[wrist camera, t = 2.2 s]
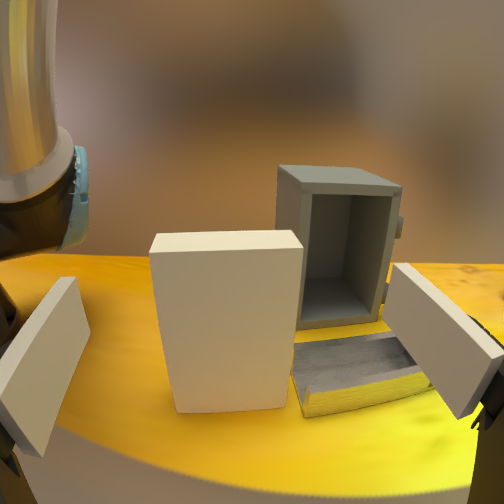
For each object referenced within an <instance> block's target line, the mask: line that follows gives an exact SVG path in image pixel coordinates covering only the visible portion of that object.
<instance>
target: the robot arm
mask: <svg viewBox="0 0 504 504" xmlns="http://www.w3.org/2000/svg"><path fill="white" fill-rule="evenodd" d="M57 5H58V0H0V262H1V261H6V260H10V259H15V258H20V257H25V256H30V255H35V254H40V253H45V252H50V251H60V250H62V249H63V248H65V247H69V246H73V245H77V244H79V243H81V242H82V241H83V240H84V239H85V237H86V235H87V232H88V225H89V224H88V223H89V198H88V189H89V180H88V179H89V178H88V161H87V154H86V150H85V149H84V148H83V147H79V146H75V145H73V141H72V138H71V136H70V135H69V133H68V132H67V131H66V130H64V129H63V128H62V127H60V126H58V123H57V110H56V92H55V35H56V33H55V32H56V17H57ZM382 319H383V320H384V321H385V323H386V324H387V325H388V326H389V328H390V329H391V330H392V332H393V333H394V334H395V335H396V337H397V338H398V339H399V341H400V342H401V343H402V345H403V346H404V347H405V348H406V350H407V351H408V352H409V354H410V355H411V356H412V358H413V359H414V360H415V362H416V363H417V364H418V366H419V367H420V368H421V370H422V371H423V373H424V374H425V375H426V377H427V378H428V379H429V381H430V382H431V383H432V385H433V386H434V388H435V389H436V390H437V392H438V393H439V395H440V396H441V397H442V399H443V400H444V402H445V403H446V404H447V406H448V407H449V409H450V410H451V412H452V413H453V414H454V416H455V417H456V419H457V420H459V419H461V418H463V417H465V416H468V415H470V414H472V413H473V411H474V410H475V408H476V407H477V405H478V403H479V402H481V403H482V404H483V406H484V407H483V409H482V410H481V412H480V413H479V415H478V416H477V418H476V419H475V421H474V422H473V424H472V426H471V429H473V428H474V427H475V426H476V424H477V423H478V422H479V427H478V428H477V430H479V432H478V442H477V450H476V458H475V465H474V471H473V477H472V483H471V488H470V493H469V498H468V502H467V504H504V346H503V345H502V344H501V343H500V342H499V341H498V340H497V339H496V338H495V337H494V336H493V335H490V332H489V331H488V330H486V329H484V327H483V326H482V325H481V324H480V323H479V322H478V321H477V320H476V319H474V318H472V317H471V316H469V315H467V314H465V313H464V312H463V311H462V310H461V309H460V308H459V307H458V306H457V305H456V304H455V303H453V302H452V301H451V300H450V299H449V298H448V297H447V296H446V295H444V294H443V293H442V292H441V291H440V290H439V289H438V288H436V287H435V286H434V285H433V284H432V283H431V282H430V281H428V280H427V279H426V278H425V277H424V276H423V275H421V274H420V273H419V272H418V271H417V270H415V269H414V268H413V267H412V266H411V265H409V264H408V263H398V264H393V269H392V273H391V278H390V283H389V287H388V292H387V296H386V301H385V305H384V309H383V313H382ZM90 334H91V331H90V328H89V325H88V321H87V318H86V314H85V310H84V307H83V303H82V299H81V295H80V291H79V287H78V283H77V279H76V277H60V278H59V279H58V280H57V282H56V283H55V284H54V285H53V287H52V288H51V289H50V291H49V292H48V293H47V294H46V296H45V297H44V298H43V300H42V301H41V302H40V304H39V305H38V306H37V308H36V309H35V310H34V312H33V313H32V314H31V316H30V317H29V318H28V320H27V321H26V323H25V324H24V325H23V321H22V318H21V316H20V313H19V310H18V308H17V306H16V304H15V303H14V302H13V300H12V299H11V297H10V296H9V295H8V293H7V292H6V290H5V289H4V287H3V286H2V284H1V283H0V504H37V501H36V499H35V497H34V495H33V493H32V491H31V489H30V487H29V485H28V483H27V480H26V478H25V476H24V474H23V471H22V469H21V467H20V464H19V461H18V459H17V457H16V455H15V454H14V452H13V451H12V449H13V447H14V444H15V443H16V444H17V446H18V447H19V448H20V449H21V451H22V452H23V453H24V454H28V455H32V456H36V457H40V458H43V456H44V453H45V450H46V447H47V444H48V441H49V438H50V435H51V432H52V429H53V426H54V423H55V420H56V418H57V415H58V412H59V409H60V407H61V404H62V401H63V399H64V396H65V394H66V391H67V388H68V386H69V383H70V381H71V378H72V376H73V374H74V371H75V369H76V366H77V364H78V362H79V359H80V357H81V355H82V352H83V350H84V348H85V345H86V343H87V341H88V339H89V336H90Z"/></svg>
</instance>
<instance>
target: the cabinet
mask: <svg viewBox="0 0 504 504" xmlns="http://www.w3.org/2000/svg"><path fill="white" fill-rule="evenodd" d="M401 194H402V186H399V185H397V184H395V183H393V182H390V181H388V180H386V179H383V178H381V177H378V176H376V175H374V174H371V173H369V172H366V171H364V170H361V169H358V168H345V167H327V166H302V165H278V173H277V198H276V220H275V230H292V232H293V233H294V235H295V236H296V237H297V239H298V240H299V242H300V243H301V245H302V246H303V248H304V250H303V261H302V271H301V282H300V292H299V301H298V310H297V319H296V328H295V330H304V329H315V328H325V327H334V326H343V325H352V324H360V323H368V322H376V321H377V317H378V313H379V309H380V305H381V304H385V301H386V296H387V292H388V287H389V284H388V283H386V279H387V274H388V270H389V265H390V260H391V255H392V250H393V244H394V239H395V238H397V239H398V238H400V237H401V231H402V225H403V217H400V216H398V215H399V208H400V201H401Z"/></svg>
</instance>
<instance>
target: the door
mask: <svg viewBox="0 0 504 504" xmlns="http://www.w3.org/2000/svg"><path fill="white" fill-rule="evenodd" d="M303 250H304V248H303V246H302V245H301V243H300V242H299V240H298V239H297V237H296V236H295V235H294V233H293V232H292V230H263V231H262V230H261V231H222V232H189V233H162V234H157V235H156V237H155V240H154V242H153V244H152V247H151V249H150V251H149V257H150V265H151V273H152V281H153V288H154V295H155V302H156V309H157V315H158V321H159V327H160V333H161V339H162V344H163V350H164V355H165V360H166V365H167V370H168V375H169V380H170V385H171V389H172V394H173V398H174V403H175V407H176V411H177V413H217V412H236V411H250V410H262V409H272V408H281V407H285V404H286V397H287V390H288V383H289V376H290V368H291V361H292V353H293V345H294V337H295V328H296V319H297V310H298V301H299V292H300V282H301V271H302V261H303Z"/></svg>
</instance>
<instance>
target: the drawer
mask: <svg viewBox="0 0 504 504" xmlns="http://www.w3.org/2000/svg"><path fill="white" fill-rule="evenodd" d="M290 373H291V376H292V380H293V383H294V386H295V389H296V392H297V395H298V399H299V402H300V405H301V408H302V411H303V415H304V418H309V417H316V416H322V415H328V414H333V413H339V412H344V411H349V410H354V409H359V408H363V407H368V406H372V405H377V404H381V403H385V402H389V401H393V400H397V399H400V398H404V397H408V396H411V395H415V394H418V393H421V392H425V391H428V390H431V389H434V386H433V385H432V383H431V382H430V381H429V379H428V378H427V377H426V375H425V374H424V373H423V371H422V370H421V368H420V367H419V366H418V364H417V363H416V362H415V360H414V359H413V358H412V356H411V355H410V354H409V352H408V351H407V350H406V348H405V347H404V346H403V345H402V343H401V342H400V341H399V339H398V338H397V337H396V335H395V334H394V333H393V332H392V331H389V332H383V333H376V334H369V335H362V336H355V337H348V338H340V339H331V340H323V341H313V342H304V343H294V345H293V353H292V361H291V368H290Z"/></svg>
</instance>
